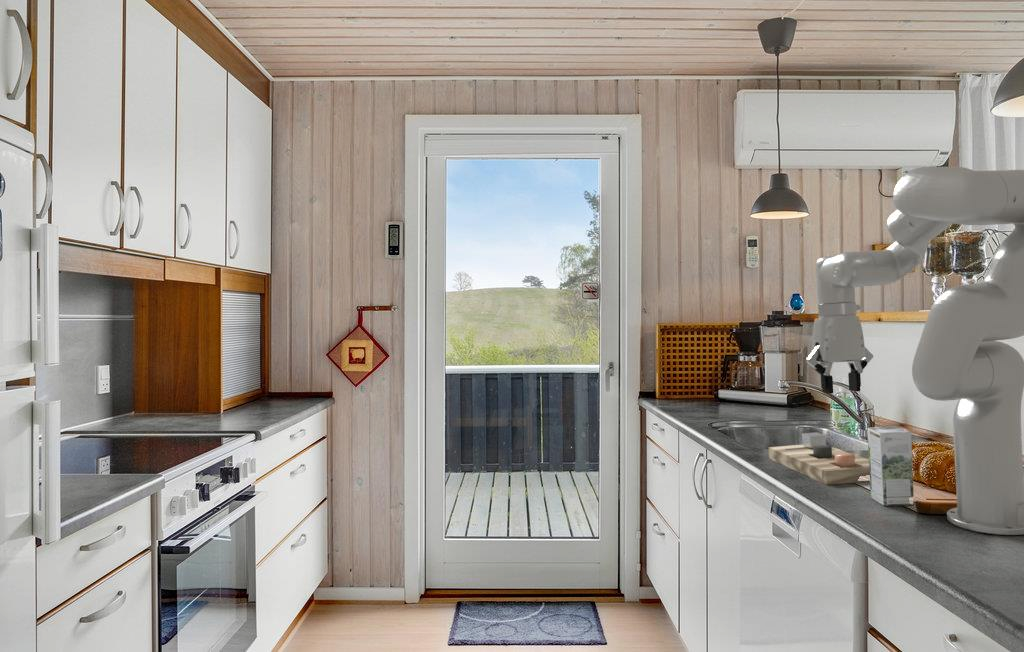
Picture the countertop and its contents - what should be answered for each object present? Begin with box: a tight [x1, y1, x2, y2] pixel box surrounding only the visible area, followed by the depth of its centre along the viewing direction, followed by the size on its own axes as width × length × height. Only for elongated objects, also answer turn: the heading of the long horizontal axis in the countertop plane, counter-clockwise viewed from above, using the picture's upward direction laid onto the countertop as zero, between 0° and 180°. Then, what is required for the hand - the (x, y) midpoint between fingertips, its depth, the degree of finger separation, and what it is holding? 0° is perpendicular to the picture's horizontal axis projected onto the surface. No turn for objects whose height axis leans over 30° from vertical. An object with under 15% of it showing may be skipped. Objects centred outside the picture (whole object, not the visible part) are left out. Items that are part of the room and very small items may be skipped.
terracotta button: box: [835, 452, 856, 468], centre depth 146 cm, size 4×4×3 cm
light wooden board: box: [768, 444, 870, 486], centre depth 155 cm, size 26×14×3 cm, turn 5°
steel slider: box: [801, 431, 827, 448], centre depth 164 cm, size 4×4×3 cm
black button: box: [813, 444, 833, 459], centre depth 155 cm, size 4×4×3 cm
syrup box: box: [867, 425, 915, 507], centre depth 127 cm, size 6×6×14 cm
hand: (841, 391), depth 145 cm, fingers open, 5 cm apart
